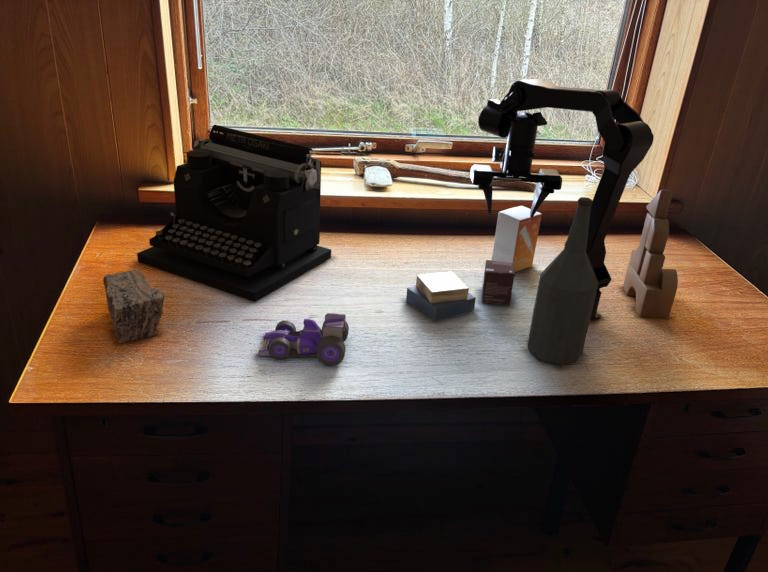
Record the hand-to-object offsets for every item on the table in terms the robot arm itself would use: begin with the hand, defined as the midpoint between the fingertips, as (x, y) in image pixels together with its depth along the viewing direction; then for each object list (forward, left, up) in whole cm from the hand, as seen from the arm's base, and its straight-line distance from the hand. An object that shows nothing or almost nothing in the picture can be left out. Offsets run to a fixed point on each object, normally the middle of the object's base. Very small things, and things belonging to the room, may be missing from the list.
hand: (510, 215), depth 160 cm
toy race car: (-16, +53, -14) cm, 57 cm away
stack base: (-9, +21, -14) cm, 27 cm away
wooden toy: (-22, -23, -14) cm, 35 cm away
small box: (+3, -5, -14) cm, 15 cm away
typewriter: (+25, +53, -14) cm, 60 cm away
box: (-10, +8, -14) cm, 19 cm away
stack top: (-9, +21, -11) cm, 25 cm away
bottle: (-33, +10, -14) cm, 37 cm away
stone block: (+3, +78, -14) cm, 79 cm away
